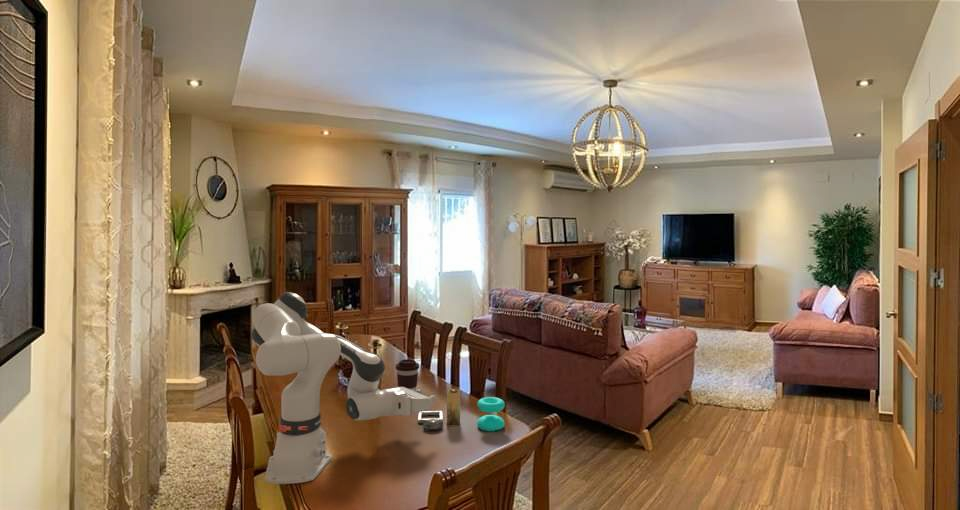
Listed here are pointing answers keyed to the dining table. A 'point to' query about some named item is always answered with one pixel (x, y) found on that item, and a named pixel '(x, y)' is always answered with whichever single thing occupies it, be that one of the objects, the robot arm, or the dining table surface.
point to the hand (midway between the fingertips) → (428, 394)
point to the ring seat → (426, 413)
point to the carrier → (433, 425)
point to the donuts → (491, 407)
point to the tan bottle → (453, 407)
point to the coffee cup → (407, 373)
